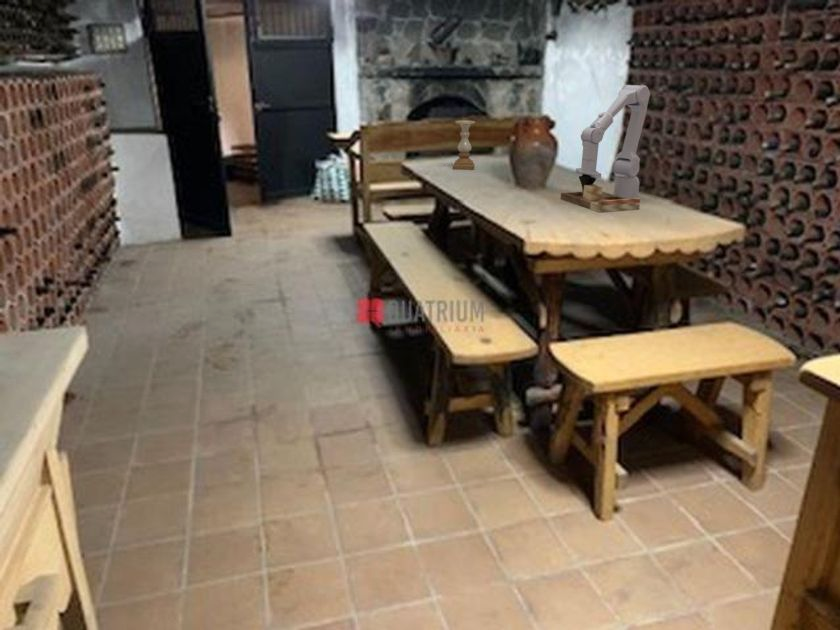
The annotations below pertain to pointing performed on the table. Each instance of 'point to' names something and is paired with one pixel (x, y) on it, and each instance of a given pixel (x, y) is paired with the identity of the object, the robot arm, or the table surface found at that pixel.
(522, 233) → the table surface
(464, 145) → the candle holder
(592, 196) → the beech block
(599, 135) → the robot arm
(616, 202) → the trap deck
